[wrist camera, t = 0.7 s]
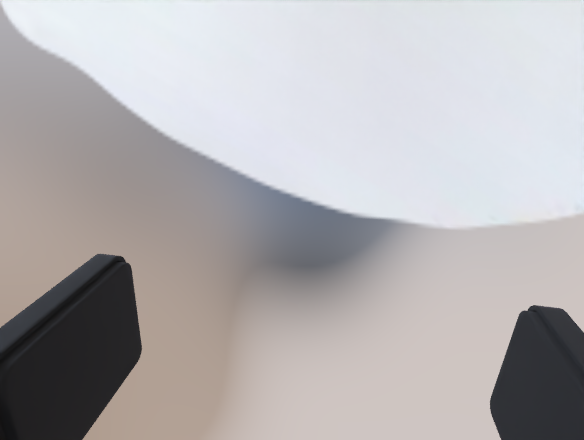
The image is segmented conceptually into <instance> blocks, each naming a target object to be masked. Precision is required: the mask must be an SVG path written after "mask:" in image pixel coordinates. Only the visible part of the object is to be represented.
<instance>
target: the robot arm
mask: <svg viewBox="0 0 584 440" xmlns="http://www.w3.org/2000/svg"><path fill="white" fill-rule="evenodd" d="M141 350H142V345H141V338H140V331H139V323H138V315H137V307H136V301H135V293H134V285H133V277H132V270H131V266H130V264H129V263H126V262H125V260H124V258H123V257H121V256H115V255H106V254H97V255H95V256H94V257H93V258H91V259H90V260H89V261H87V262H86V263H85V264H84V265H82V266H81V267H80V268H78V269H77V270H76V271H74V272H73V273H72V274H70V275H69V276H68V277H66V278H65V279H64V280H62V281H61V282H60V283H59V284H57V285H56V286H55V287H53V288H52V289H51V290H50V291H48V292H47V293H45V294H44V295H43V296H42V297H40V298H39V299H37V300H36V301H35V302H34V303H32V304H31V305H30V306H28V307H27V308H26V309H25V310H23V311H22V312H20V313H19V314H18V315H16V316H15V317H14V318H13V319H11V320H10V321H9V322H7V323H6V324H5V325H4V326H2V327H1V328H0V440H82V439H83V438H84V436H85V435H86V434H87V432H88V431H89V429H90V428H91V427H92V425H93V424H94V422H95V421H96V420H97V418H98V417H99V415H100V414H101V413H102V411H103V410H104V408H105V407H106V406H107V404H108V403H109V401H110V400H111V399H112V397H113V396H114V394H115V393H116V392H117V390H118V389H119V387H120V386H121V384H122V383H123V382H124V380H125V379H126V377H127V376H128V375H129V373H130V372H131V370H132V369H133V368H134V366H135V365H136V363H137V362H138V360H139V358H140V355H141ZM490 409H491V414H492V417H493V420H494V422H495V425H496V427H497V430H498V432H499V435H500V438H501V440H584V333H583V331H582V330H581V329H580V328H579V327H578V326H577V324H576V323H575V322H574V321H573V320H572V319H571V317H570V316H569V315H568V314H567V313H566V312H565V311H564V310H563V309H560V308H552V307H544V306H536V305H533V306H531V307H530V308H529V309H528V311H522V312H521V313H520V314H519V317H518V319H517V322H516V326H515V328H514V331H513V334H512V337H511V340H510V343H509V346H508V349H507V352H506V355H505V358H504V361H503V364H502V367H501V369H500V373H499V375H498V378H497V381H496V384H495V387H494V390H493V393H492V396H491V400H490Z"/></svg>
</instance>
